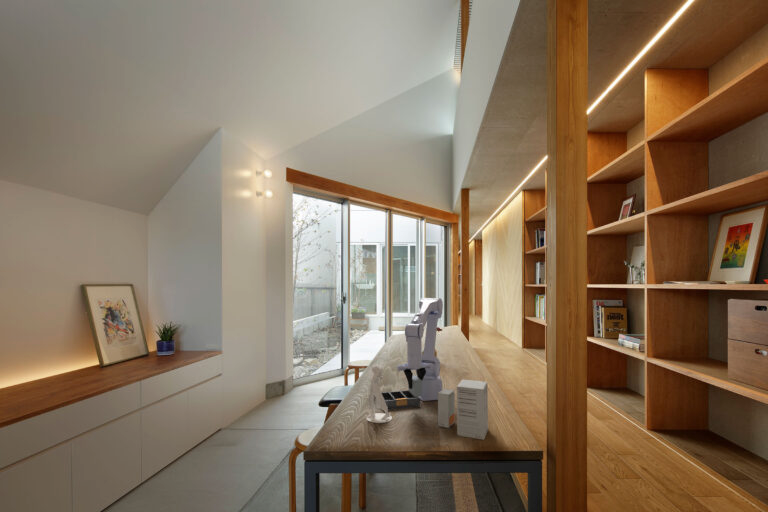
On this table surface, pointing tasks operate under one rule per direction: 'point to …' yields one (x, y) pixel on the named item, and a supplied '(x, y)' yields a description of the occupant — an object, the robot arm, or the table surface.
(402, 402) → the divided tray
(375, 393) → the female figurine
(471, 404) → the supplement box
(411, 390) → the grey rectangular block
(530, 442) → the table surface
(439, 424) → the skincare box
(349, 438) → the table surface
